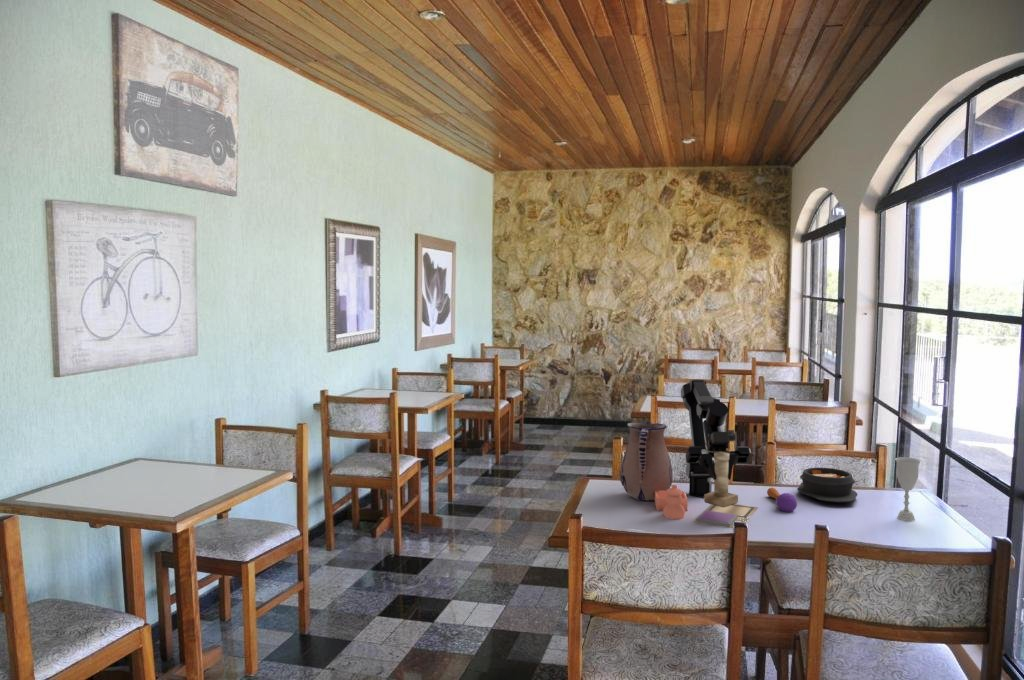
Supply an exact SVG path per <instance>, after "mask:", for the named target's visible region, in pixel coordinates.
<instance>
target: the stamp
mask: <svg viewBox="0 0 1024 680" xmlns="http://www.w3.org/2000/svg"><path fill="white" fill-rule="evenodd" d="M713 459H714V463H715V475H716V480H714V479H713V480H714V483H713V484H714V487H713V489H714V491H711V493H707V494H704V497H703V502H704V503H705V504H709V505H711V504H712V505H716V506H720V507H723V508H724V507H727V506H730V505H733V504H738V503H739V494H735V493H731V492H729V479H728V468H729V453H725V452H715V453H714V458H713Z"/></svg>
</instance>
